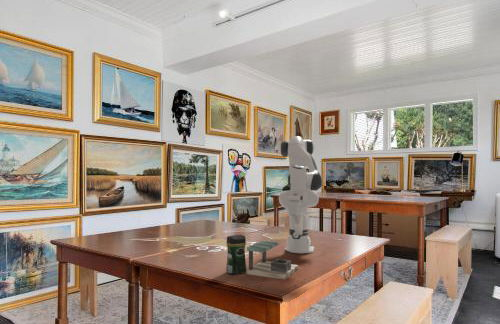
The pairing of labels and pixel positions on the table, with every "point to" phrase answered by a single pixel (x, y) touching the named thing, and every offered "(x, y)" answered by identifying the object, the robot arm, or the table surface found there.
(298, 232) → the peg
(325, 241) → the table surface
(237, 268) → the coffee jar
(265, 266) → the canopy socket
